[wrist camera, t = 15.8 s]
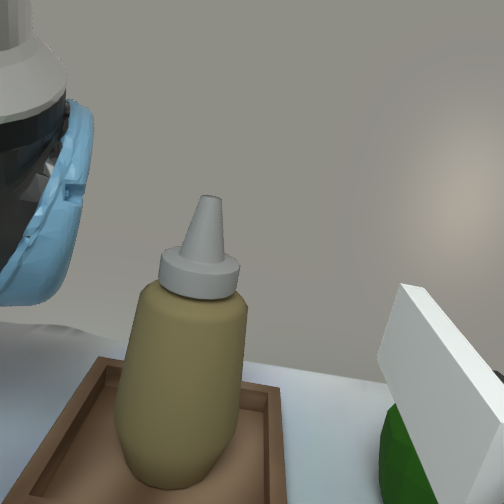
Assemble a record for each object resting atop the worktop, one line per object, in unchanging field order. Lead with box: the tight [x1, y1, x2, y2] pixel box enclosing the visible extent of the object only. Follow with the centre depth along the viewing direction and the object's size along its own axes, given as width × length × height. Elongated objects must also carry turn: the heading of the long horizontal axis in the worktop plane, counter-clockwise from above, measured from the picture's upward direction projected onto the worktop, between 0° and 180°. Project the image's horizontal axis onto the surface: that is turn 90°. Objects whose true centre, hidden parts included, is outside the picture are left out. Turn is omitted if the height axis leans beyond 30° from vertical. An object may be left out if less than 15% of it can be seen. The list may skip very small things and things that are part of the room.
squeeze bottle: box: [114, 195, 248, 490], centre depth 29 cm, size 8×8×18 cm
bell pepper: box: [379, 403, 438, 504], centre depth 31 cm, size 8×8×10 cm
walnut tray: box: [2, 356, 287, 504], centre depth 31 cm, size 15×15×2 cm
